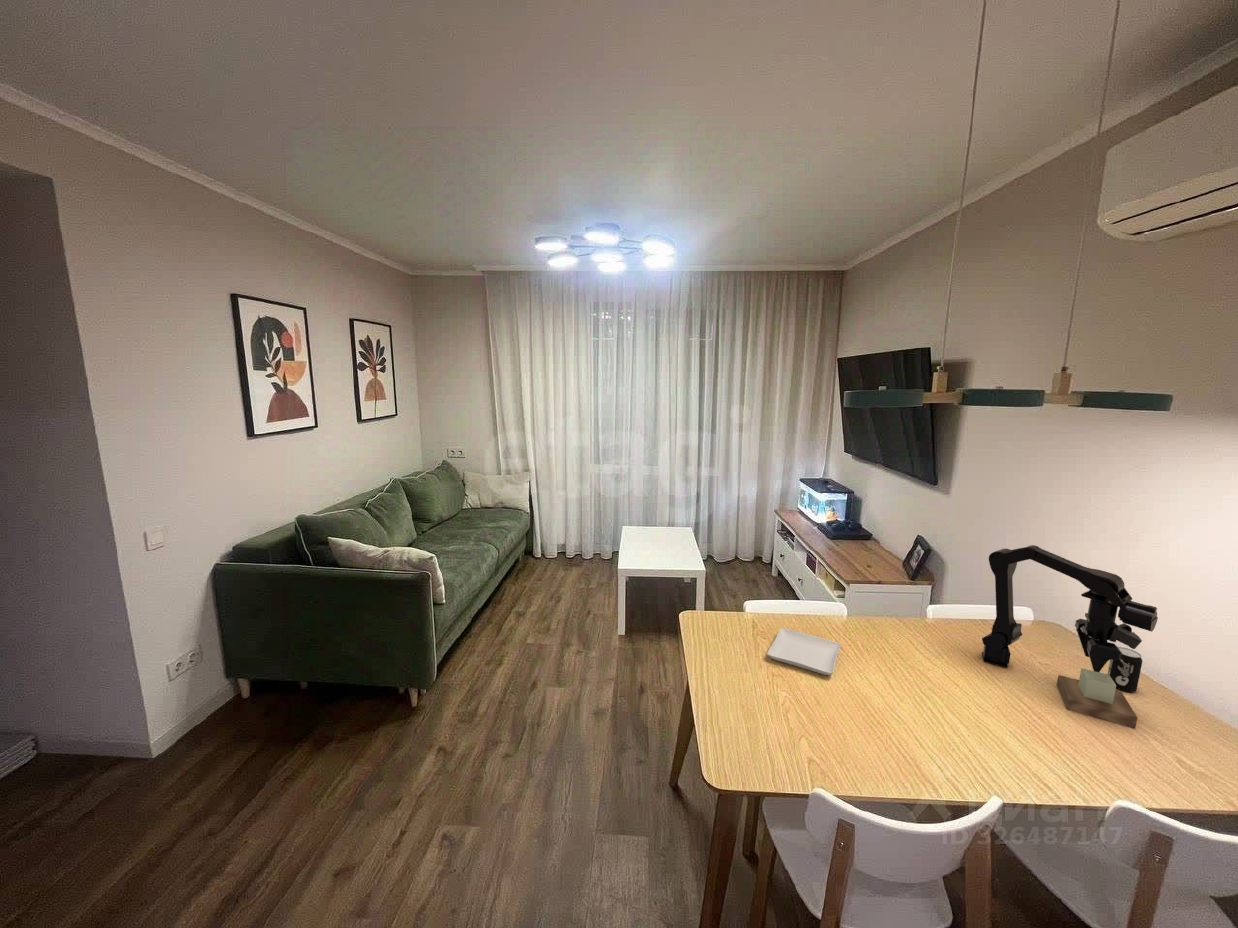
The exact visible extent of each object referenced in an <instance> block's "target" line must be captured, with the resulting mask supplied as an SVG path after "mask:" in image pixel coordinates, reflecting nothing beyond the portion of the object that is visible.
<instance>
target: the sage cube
mask: <svg viewBox="0 0 1238 928" xmlns="http://www.w3.org/2000/svg"><path fill="white" fill-rule="evenodd" d="M1078 680H1079V683H1078V687H1079V689H1080V690H1081V692H1082V694H1083V696H1084V697H1086V698H1090V699H1094V700H1098V701H1102V702H1106V703H1110V704H1113V699H1114V695H1115V690H1116V684H1115V683H1114V681H1113V680H1112V678H1111V677H1110V675H1109V674H1108V673H1104V672H1101V671H1100V672H1095V671H1094V670H1093V669H1091V670H1090V669H1086V668H1082V667H1081V668H1080V673H1079V678H1078Z"/></svg>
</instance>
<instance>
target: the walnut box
mask: <svg viewBox="0 0 1238 928" xmlns="http://www.w3.org/2000/svg"><path fill="white" fill-rule="evenodd" d="M1078 683H1079V679H1076V678H1073V677H1069V676H1064V675H1061V674H1058V675H1057V681H1056V687H1057V690H1058V692H1059V694H1060V696H1061V700H1062V701H1063V704H1064V706H1065V709H1066V710H1067V711H1071V712H1073V713H1077V714H1080V715H1085V716H1088V717H1091V718H1095V719H1098V720H1103V721H1106V722H1109V723H1112V724H1117V725H1120V726H1124V727H1127V728H1131V729H1134V730H1136V727H1137V723H1138V716H1137V715H1136V713H1135V711H1134V710H1133V708H1132V706H1131V705H1130V703H1129V702H1128V700H1127V698H1126V696H1125V695H1124V693H1123V692H1122V690H1119V689H1116V690H1115V695H1114V699H1113V704H1110V703H1106V702H1102V701H1098V700H1094V699H1090V698H1086V697H1084V696H1083V694H1082V692H1081V690H1080V689H1079V687H1078Z"/></svg>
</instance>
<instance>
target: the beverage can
mask: <svg viewBox="0 0 1238 928" xmlns="http://www.w3.org/2000/svg"><path fill="white" fill-rule="evenodd" d="M1117 647H1118V648H1119V650H1120V651H1121V652H1122V655H1121V659H1116V660H1115V659H1111V660H1109V665H1108V670H1107V674H1109V675H1110V677H1111V678H1112V680H1113V681H1114V683H1115V684H1116V689H1117V690H1121V692H1122V691H1123V692H1125V693H1126V692H1127V693H1133V692H1135V691H1137V689H1138V686H1139V680H1140V676H1141V671H1142V670H1141V669H1142V665H1143V659H1142V654H1141V653H1140V652H1138V651H1136V650H1135V649H1132V648H1128V647H1122V646H1117Z"/></svg>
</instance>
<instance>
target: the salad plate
mask: <svg viewBox="0 0 1238 928" xmlns="http://www.w3.org/2000/svg"><path fill="white" fill-rule="evenodd" d="M841 646H842V645H841V643H840V642H837V641H833V640H830V639H826V638H823V637H819V636H815V635H812V634H810V633H809V634H808V633H804V632H801V631H797V630H792V629H789V628H787V627H780V629H779V630H778V633H777V635H776V636H775V639H774V640H773V642H772V644H771V645H770V647H769V648H768V650H767V653H766V654H767V656H768V657H769V658H771V659H773V660H775V661H778V662H780V663H781V662H782V663H785V664H789V665H791V666H796V667H797V668H802V669H805V670H808V671H812V672H815V673H817V674H821V675H826V676H830V675H833V674H834V671H835V667H836V664H837V658H838V655H839V652H840V649H841Z"/></svg>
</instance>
